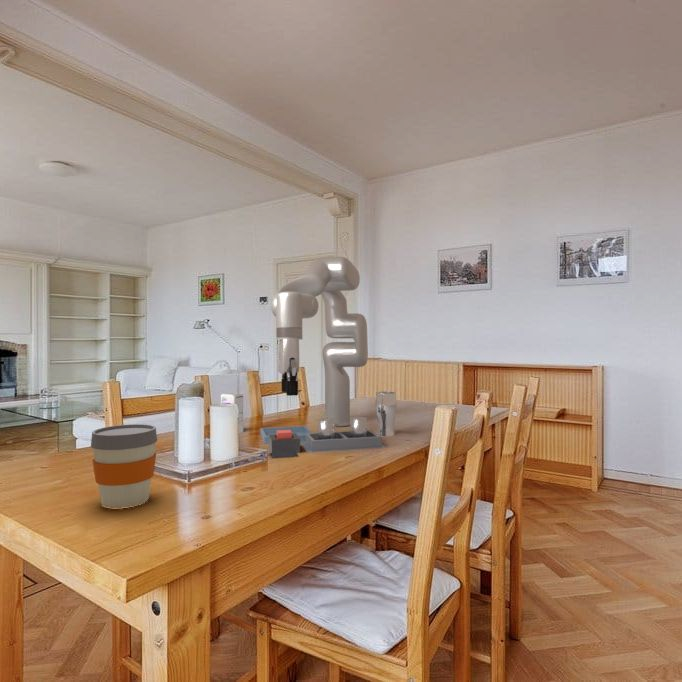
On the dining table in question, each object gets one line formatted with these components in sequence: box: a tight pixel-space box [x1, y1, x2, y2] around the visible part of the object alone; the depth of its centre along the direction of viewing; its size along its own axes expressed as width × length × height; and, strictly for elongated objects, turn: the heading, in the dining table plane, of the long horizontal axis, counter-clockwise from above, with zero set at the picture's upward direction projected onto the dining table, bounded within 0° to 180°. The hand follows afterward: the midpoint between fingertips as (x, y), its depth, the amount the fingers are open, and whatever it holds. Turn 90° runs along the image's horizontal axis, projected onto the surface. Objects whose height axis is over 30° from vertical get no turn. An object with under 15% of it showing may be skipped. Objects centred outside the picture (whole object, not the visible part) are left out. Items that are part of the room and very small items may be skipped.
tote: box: [259, 425, 313, 445], centre depth 159 cm, size 16×16×3 cm
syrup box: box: [220, 392, 244, 435], centre depth 166 cm, size 6×6×14 cm
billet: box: [317, 417, 336, 440], centre depth 145 cm, size 5×5×8 cm
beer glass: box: [375, 390, 397, 437], centre depth 163 cm, size 7×7×15 cm
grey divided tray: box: [300, 429, 388, 454], centre depth 147 cm, size 13×24×4 cm, turn 104°
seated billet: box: [349, 416, 368, 438], centre depth 148 cm, size 5×5×8 cm
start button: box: [276, 430, 292, 439], centre depth 140 cm, size 4×4×3 cm
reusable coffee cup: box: [90, 423, 158, 508], centre depth 100 cm, size 13×13×15 cm
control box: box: [268, 433, 301, 459], centre depth 140 cm, size 8×8×5 cm
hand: (289, 393), depth 141 cm, fingers open, 9 cm apart
